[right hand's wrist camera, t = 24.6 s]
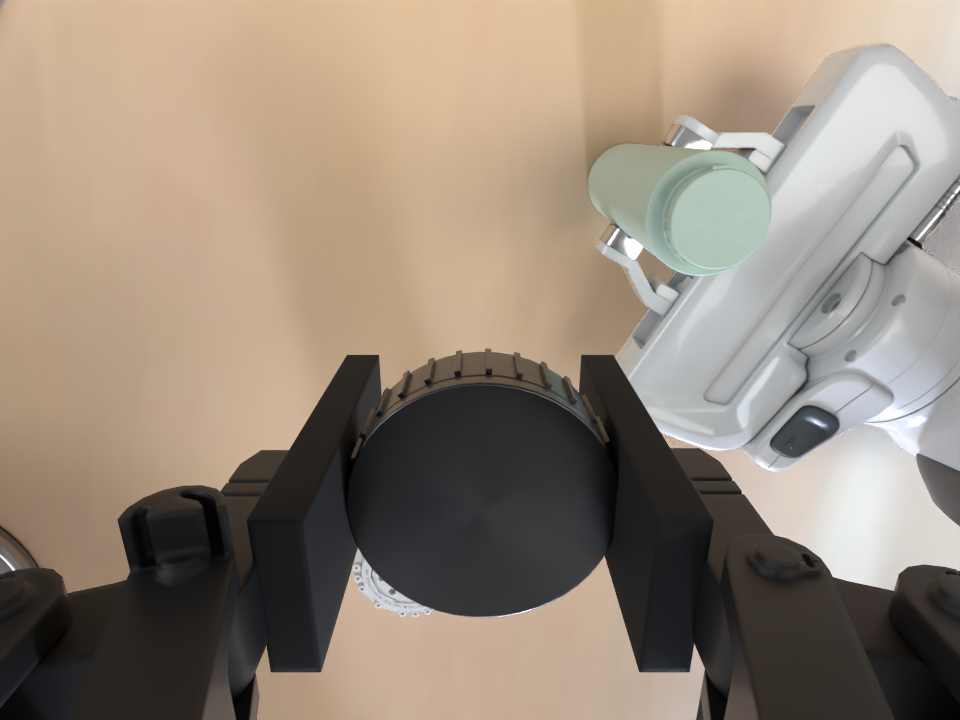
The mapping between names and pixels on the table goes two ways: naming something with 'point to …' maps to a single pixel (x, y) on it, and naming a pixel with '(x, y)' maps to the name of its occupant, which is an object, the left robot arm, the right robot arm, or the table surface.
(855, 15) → the table surface
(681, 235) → the jar
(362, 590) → the mechanical component
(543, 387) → the lid
